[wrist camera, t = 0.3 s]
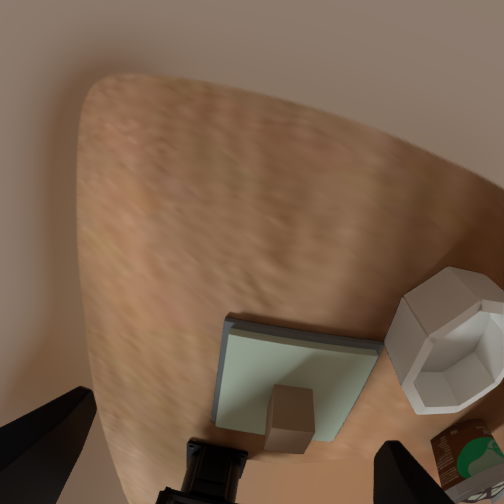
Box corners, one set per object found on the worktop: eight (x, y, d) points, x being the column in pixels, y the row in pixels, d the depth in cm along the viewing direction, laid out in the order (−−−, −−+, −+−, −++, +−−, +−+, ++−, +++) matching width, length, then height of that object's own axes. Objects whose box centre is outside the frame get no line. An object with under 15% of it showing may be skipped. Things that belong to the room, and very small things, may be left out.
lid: (331, 435, 26) (335, 479, 21) (216, 420, 26) (206, 464, 21) (375, 349, 22) (392, 398, 17) (230, 327, 22) (217, 377, 17)
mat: (334, 434, 26) (334, 438, 26) (212, 418, 27) (211, 421, 26) (382, 341, 22) (383, 345, 21) (225, 316, 22) (224, 320, 22)
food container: (506, 419, 25) (533, 474, 16) (473, 448, 27) (494, 503, 18) (462, 403, 24) (494, 475, 15) (422, 438, 26) (443, 510, 17)
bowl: (460, 373, 23) (480, 410, 18) (370, 369, 23) (383, 414, 18) (507, 279, 19) (541, 309, 14) (415, 258, 19) (446, 293, 15)
